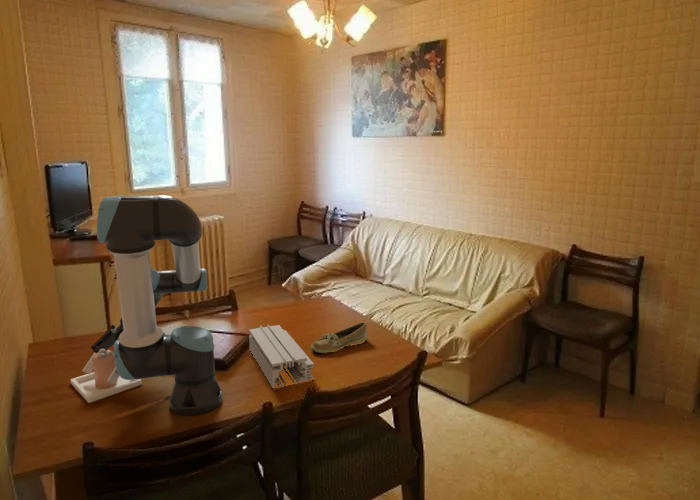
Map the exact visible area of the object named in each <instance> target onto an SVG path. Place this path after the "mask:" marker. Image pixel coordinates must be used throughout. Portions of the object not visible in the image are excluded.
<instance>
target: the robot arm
mask: <svg viewBox="0 0 700 500" xmlns="http://www.w3.org/2000/svg"><path fill="white" fill-rule="evenodd" d="M96 220H97V221H96V238H97V241H98V242H99V243H102V244H105V245H106V251H108V252H109V253H111V254H112V255H113V257H114V265H115V273H116V281H117V287H118V288H117V289H118V290H117V291H118V296H119V304H120V312H121V319H119V323H120V324H119V326H116V325H114V324H111V325H110V327H109V328H108V329H107V331H105V333H103V335H101V336H100V337H99V338H98V339H97V340H96V341H95V342H94V343H93V344H92V345H91V347H90V349H91V350H92V353H91V355H90V356H89V358H88V360H87V362H86V364H85V366H84V367H83V368H82V372H84V374H90V373H92V372H93V371H94V368H93V359H92V356H93V355H94V354H96V353H98V352H99V350H100V349H105V350H106V351H108V350H109V349H110V348H111V347H112V346H113V352H114V358H115V359H114V361H115V366H116V367H115V368H114V370H113V372H112V373H111V375H110V377H109V378H108V380H107V381H108V382H110V383H112V384H114V385H115V383H116V381H117V380H118V378H119V376H120V377H121V378H123V379H125V380H130V379H136V380H139V379H141V380H143V379H150V378H156V377H157V378H158V377H166V376H174V382H173V387H172V390H171V393H170V397H169V404H170V405H169V407H170V409H171V411H173V412H174V413H175V414H179V415H182V416H197V415H202V414H205V413H209V412H211V411H213V410H215V409H216V408H217V407H218V406H220V405H221V403H222V401H223V392H222V389H221V387H220V384H219V382H218V379H217V377H216V368H215V352H214V350H215V344H214V337H213V334H212V332H211V331H210V330H208V329H206V328H204V327H202V326H198V325H197V326H195V325H184V326H180V327H175V328H174V329H173V330H172V331H171V333H170V334H169V335H163V331H164V330H163V329H162V327H160V326H158V325H157V314H156V307H157V306H158V304H159V303H160V301H161V300H162V298H163V296H164V294H173V293H188V292H189V293H191V292H192V293H194V292H195V293H196V292H202V291H206V290H207V289H208V274H207V273H208V271H207V269H206V268H202V267H201V256H200V255H201V253H200V240H201V238H202V236H203V235H202V234H203V227H202V226H203V225H202V222H201V220H200V217H199V215H198V214H197V213H196V212H195V210H194V209H193V208H192V207H190V206H189V205H188V204H187V203H186V202H185V201H183V200H181V199H179V198H177V197H174V196H170V195H166V194H159V195H153V194H152V195H123V194H119V195H116V196H115V195H113V196H106V197H104V198H102V200H101V201H100V203H99V206H98V210H97V219H96ZM159 240H160V241H162V240H163V241H164V240H167V241H168V242H169V243H170V244H171V250H172V257H173V262H174V269H169V270H168V269H167V270H156V269H154V268H152V263H151V253H150V252H151V251H152V250H153V249H155V246H156V241H159Z"/></svg>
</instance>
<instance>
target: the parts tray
mask: <svg viewBox="0 0 700 500" xmlns="http://www.w3.org/2000/svg"><path fill="white" fill-rule="evenodd" d="M70 385H72V387H74V389H75V390H76V391H77V392H78V393H79V394H80V395H81V396H82V397H83V399H84V400H85V401H86V402H87V403H88V404H89V403H90V404H91V403H93V402H95V401H100V400H101V399H104V398H107V397H109V396H113V395H115V394H119V393H121V392H124V391H127V390H130V389H134V388H135V387H138V386H141V385H143V379H139V380H136V379H130V380H125V379H123V378H121V377H120V376H119V378H118V383H117V384H116V385H115V386H113V387H111V388H107V389H98V388H96V386H95V377H94V371H92V372H91V373H90V374H87V373H85V374H83V375H80V376H77V377H73V378H70Z"/></svg>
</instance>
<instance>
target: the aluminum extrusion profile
mask: <svg viewBox="0 0 700 500" xmlns="http://www.w3.org/2000/svg"><path fill="white" fill-rule="evenodd" d="M248 331H249V335H248V336H249V352H250V351H251V352H250V354H251V353H252V354H253V356H252V357H253V359H254V358H255V359H256V360H255V359H254V360H255V362H256V361H257V362H258V364H259V365H258V364H257V365H258V367H259V366H260V367H261V369H262V370H261V369H260V370H261V372H262V371H263V372H264V374H265V375H264V374H263V375H264V377H265V376H266V377H267V379H268V380H267V379H266V380H267V382H268V381H269V382H268V383H270V384H271V385H270V384H269V385H270V387H271V386H272V387H271V389H272V388H275V385H276V384H277V385H278V387H281V386H283V385H282V384H281V382H280V381H279V379H278V377H280V379H281V380H282V382H283V383H284V385H286V382H285V381H284V379H283V378H282V376H281V375H280V373H279V372H282V371H283V369H284V370H285V372H286V373H287V374H288V376H289V377H290V379H291V380H292V382H293V383H295V382H294V380H293V379H292V378H291V376H290V375H289V373H288V372H287V371H286V369H285V368H284V366H285V367H286V368H287V369H288V370H289V372H290V373H291V375H292V376H293V378H294V379H295V380H296V382H297V383H299V382H303V381H307V380H310V379H313V380H314V379H315V377H314V376H313V374H312V371H313V369H312V368H314V365H315V363H314V362H313V361H312V359H311V358H310V357H309V356H308V355H307V353H306V352H305V351H304V350H303V349H302V348H301V347H300V345H299V344H298V343H297V342H296V341H295V339H294V338H293V337H292V336H291V335H290V333H288V331H287V330H285V329H283V328H282V327H281V325H280V324H278V325H277V324H276V325H269V324H267V326H263V325H259V327H256V328H250V329H249V330H248ZM252 354H251V355H252ZM257 362H256V363H257ZM283 365H284V366H283ZM260 367H259V368H260ZM263 372H262V373H263ZM266 377H265V378H266Z"/></svg>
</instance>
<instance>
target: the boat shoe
mask: <svg viewBox="0 0 700 500" xmlns="http://www.w3.org/2000/svg"><path fill="white" fill-rule="evenodd" d="M367 332H368V331H367V324H366V322H365V321H364V322H359V323H356V324H354V325H351V326H348V327H346V328H343V329H341V330H338V331H335V332H329V333H326V334H323V335H321V338H320V337H319V338H318V339H315V340H314V341H313V343H312V344H311V346H310V349H311V350H312V351H313V352H315V353H317V354H318V353H319V354H328V353H327V352H331V351H336V350H339V349H341V348H342V347H345V346H347V345H351V344H356V343H361V342H365V341H366V340H367V341H368V336H367V335H368V334H367ZM347 347H348V346H347ZM345 348H346V347H345Z"/></svg>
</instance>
